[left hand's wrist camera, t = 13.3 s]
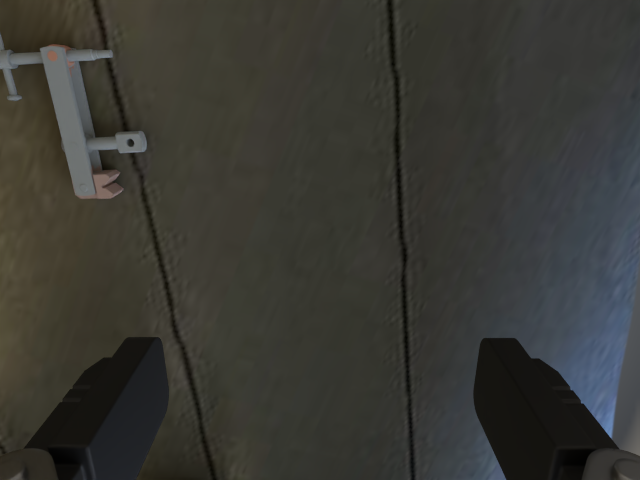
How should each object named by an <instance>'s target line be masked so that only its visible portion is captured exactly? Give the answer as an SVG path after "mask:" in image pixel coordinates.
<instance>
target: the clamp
mask: <svg viewBox="0 0 640 480" xmlns="http://www.w3.org/2000/svg"><path fill="white" fill-rule="evenodd" d="M40 51H41V52H30V53H15V52H14V51H12V50H5V48H4V44H3V41H2V37H1V33H0V69H2V70H3V73H4V77H5V80H6V84H7V87H8V91H9V94H10V96H7V99H8V100H12V101H18V100H19V99H22V96H21V95H18V94H17V90H16V87H15V83H14V80H13V76H12V73H11V69H15V68H17V67H18V65H20V64H37V63H44V68H45V72H46V76H47V80H48V84H49V88H50V92H51V96H52V100H53V104H54V108H55V112H56V117H57V121H58V125H59V129H60V133H61V137H62V141H61V147H62V149H63V151H64V152H65V153H66V157H67V161H68V165H69V170H70V174H71V178H72V184H73V188H74V192H75V195H76V196H78V197H79V198H80V199H89V198H98V199H107V198H112V197H114V196H116V195H117V194H119V193H121V192H122V190H123V188H122V187H121V186H119V185H118V184H117V183H113V182H112V181H114V180H115V179H116V178H117V177H118V175H119V174H120V172H119V171H118V170H116V169H115V170H102V165H101V161H100V156H99V151H98V150H110V149H118V150H119V152H120V153H132V152H144V151H145V150H146V147H147V142H146V137H145V135H144V133H143V132H142V131H130V132H117V133H116V135H115V136H116V137H98V138H95V133H94V129H93V124H92V120H91V115H90V110H89V106H88V101H87V97H86V92H85V88H84V83H83V79H82V74H81V70H80V65H79V61H90V60H95V59H100V58H109V57H113V53H112V50H93V49H82V50H76V49H74V48H70V47H68V46H65V45H58V44H50V45H48V46H47V47H43V48H40ZM131 139H132V140H133V141H134V145H133V144H132V143H131Z"/></svg>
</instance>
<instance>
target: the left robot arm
mask: <svg viewBox="0 0 640 480" xmlns="http://www.w3.org/2000/svg"><path fill="white" fill-rule="evenodd" d="M168 399H169V388H168V380H167V373H166V366H165V359H164V352H163V345H162V341H161V339H160V338H159V337H128V338H126V339H125V340H124V342H123V343H122V344H121V346H120V347H119V348H118V350H117V351H116V353H115V354H114V355H113V357H112V358H103V359H101V360H100V361H98V362H97V363H95V364H94V365H93V366H91V367H90V368H88V369H87V370H85V371H84V373H83V374H82V375H81V376H80V378H79V379H78V380H77V381H76V383H75V384H74V385H73V389H70V390H69V392H68V393H67V394H66V395H65V397H64V398H63V401H62V402H60V403H59V404H58V406H57V407H56V408H55V409H54V411H53V412H52V413H51V415H50V416H49V417H48V418H47V420H46V421H45V422H44V423H43V425H42V426H41V427H40V428H39V430H38V431H37V432H36V434H35V435H34V436H33V437H32V439H31V440H30V441H29V442H28V444H27V445H26V446H25V448H24V449H20V450H16V451H12V452H10V453H7V454H4V455H2V456H0V480H136V478H137V476H138V474H139V471H140V469H141V467H142V465H143V463H144V460H145V458H146V456H147V454H148V451H149V449H150V447H151V445H152V443H153V440H154V438H155V436H156V434H157V432H158V429H159V427H160V425H161V423H162V421H163V418H164V416H165V414H166V410H167V406H168ZM474 405H475V410H476V413H477V416H478V418H479V421H480V423H481V425H482V427H483V429H484V432H485V434H486V436H487V438H488V440H489V443H490V445H491V447H492V449H493V451H494V453H495V456H496V458H497V460H498V462H499V464H500V467H501V469H502V471H503V473H504V475H505V477H506V480H640V456H638V455H636V454H633V453H630V452H628V451H624V450H620V449H619V448H618V447H617V445H616V444H615V443H614V442H613V440H612V439H611V438H610V437H609V435H608V434H607V433H606V432H605V430H604V429H603V428H602V427H601V425H600V424H599V423H598V421H597V420H596V419H595V418H594V416H593V415H592V414H591V413H590V411H589V410H588V409H587V408H586V406H585V405H584V404H581V400H580V399H579V398H578V396H577V395H576V394H575V393H574V391H573V390H570V386H569V385H568V384H567V382H566V381H565V380H564V379H563V377H562V376H561V375H560V374H559V372H558V371H556V370H555V369H553V368H552V367H550V366H549V365H547V364H546V363H545V362H543V361H542V360H540V359H531V358H530V356H529V355H528V354H527V352H526V351H525V350H524V348H523V347H522V346H521V344H520V343H519V342H518V340H517V339H515V338H484V339H483V340H482V341H481V344H480V349H479V356H478V363H477V370H476V377H475V384H474Z"/></svg>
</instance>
